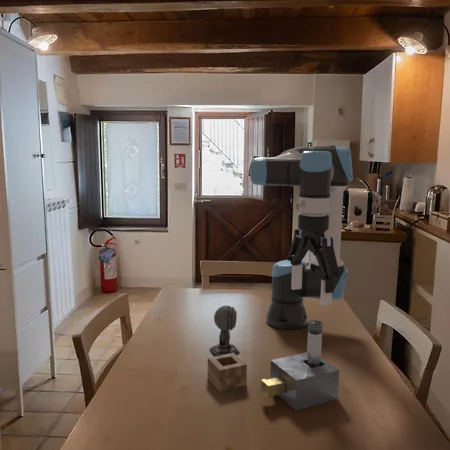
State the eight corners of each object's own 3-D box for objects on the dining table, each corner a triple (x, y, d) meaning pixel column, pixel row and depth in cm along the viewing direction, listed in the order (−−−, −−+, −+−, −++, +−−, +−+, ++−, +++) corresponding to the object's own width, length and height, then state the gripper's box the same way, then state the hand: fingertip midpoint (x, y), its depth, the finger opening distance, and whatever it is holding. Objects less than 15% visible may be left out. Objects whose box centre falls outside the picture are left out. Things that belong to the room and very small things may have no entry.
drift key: (261, 391, 116) (261, 379, 116) (291, 384, 120) (291, 372, 120) (268, 398, 113) (268, 386, 113) (298, 390, 117) (299, 378, 117)
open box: (233, 372, 131) (233, 352, 130) (246, 385, 124) (246, 364, 123) (207, 378, 128) (207, 357, 127) (219, 391, 121) (219, 370, 120)
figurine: (237, 359, 140) (238, 312, 138) (206, 355, 142) (206, 309, 140) (242, 347, 148) (242, 303, 146) (212, 344, 150) (212, 300, 148)
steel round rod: (313, 382, 124) (316, 319, 121) (322, 389, 121) (325, 324, 118) (302, 385, 122) (305, 321, 119) (311, 392, 119) (313, 326, 116)
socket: (269, 388, 123) (270, 360, 122) (309, 378, 128) (310, 351, 127) (295, 410, 112) (296, 380, 111) (337, 399, 118) (339, 369, 117)
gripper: (276, 208, 123) (273, 284, 127) (330, 222, 100) (326, 314, 104) (300, 207, 126) (297, 281, 130) (358, 220, 103) (353, 310, 107)
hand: (310, 296), depth 117 cm, fingers open, 13 cm apart
